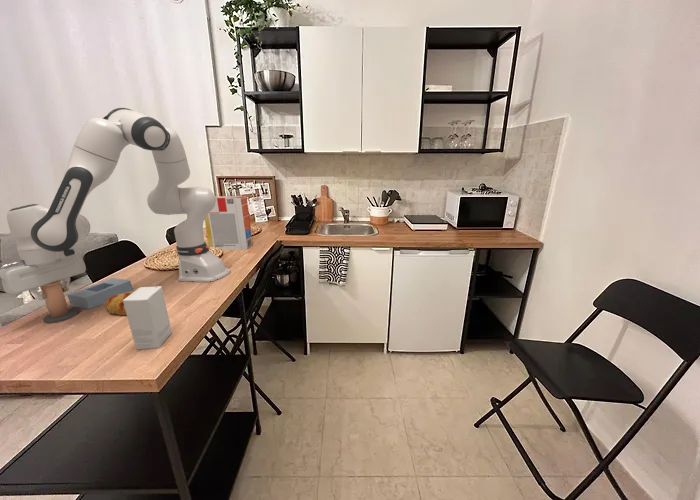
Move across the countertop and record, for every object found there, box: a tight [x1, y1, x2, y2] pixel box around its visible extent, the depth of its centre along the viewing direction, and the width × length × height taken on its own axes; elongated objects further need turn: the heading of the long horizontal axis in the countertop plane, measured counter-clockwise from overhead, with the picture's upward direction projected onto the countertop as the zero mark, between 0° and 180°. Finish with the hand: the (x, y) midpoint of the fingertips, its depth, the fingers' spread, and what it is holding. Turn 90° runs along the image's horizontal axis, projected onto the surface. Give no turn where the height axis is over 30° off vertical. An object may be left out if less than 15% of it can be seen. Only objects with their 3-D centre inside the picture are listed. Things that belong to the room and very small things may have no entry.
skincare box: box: [123, 285, 173, 350], centre depth 83 cm, size 8×7×16 cm
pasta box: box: [204, 195, 254, 251], centre depth 172 cm, size 23×8×30 cm, turn 85°
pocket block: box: [66, 277, 134, 310], centre depth 113 cm, size 10×16×4 cm, turn 162°
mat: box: [42, 307, 80, 324], centre depth 101 cm, size 9×9×1 cm
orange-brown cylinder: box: [39, 280, 69, 318], centre depth 99 cm, size 5×5×12 cm
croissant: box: [105, 291, 134, 316], centre depth 104 cm, size 21×10×8 cm, turn 67°
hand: (54, 295), depth 99 cm, fingers closed on orange-brown cylinder, 5 cm apart
